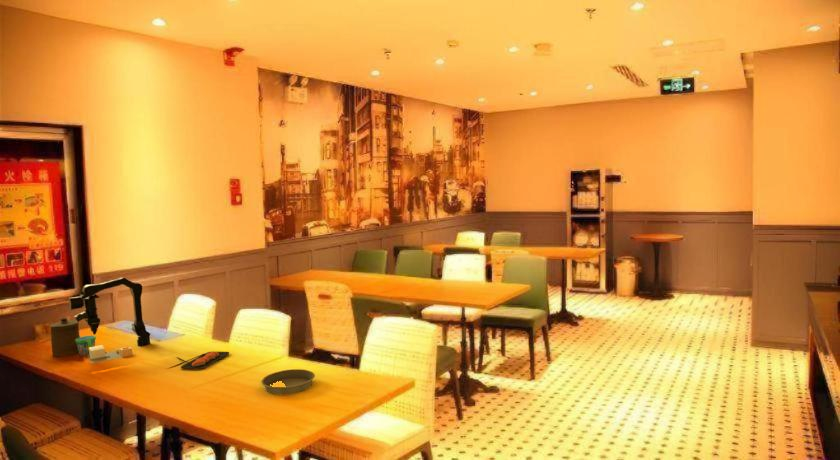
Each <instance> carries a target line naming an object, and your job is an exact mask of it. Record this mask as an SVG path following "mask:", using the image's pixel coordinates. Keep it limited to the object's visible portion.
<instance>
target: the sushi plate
mask: <svg viewBox="0 0 840 460" xmlns="http://www.w3.org/2000/svg"><path fill="white" fill-rule="evenodd" d="M229 354H230V352H229V351H207V352H205V353H204V352H203V353H202V354H199V355H197V356H195V357H193V358H190V359H187V360H184V359H182V358H181V357H176V358H177V359H178V360H180V361H182V362H179V363H177V364H176V365H173V366H171V367H168V368H167V370H168V369H173V368H174V367H178V366H180V368H181V370H183V369H184V370H203V369H206V368H208V367H209V366H211V365H213V364H215V363H216V362H218V361H220V360H222V359H223V358H225V357H226V356H229ZM182 364H183V365H182ZM181 365H182V366H181Z"/></svg>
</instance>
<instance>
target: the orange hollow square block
mask: <svg viewBox="0 0 840 460" xmlns="http://www.w3.org/2000/svg"><path fill="white" fill-rule="evenodd" d="M119 350H120V355H121V358H126V357H131V356H133V348H132V347H131V346H125V347H120V348H119ZM130 355H131V356H130ZM125 356H126V357H125Z"/></svg>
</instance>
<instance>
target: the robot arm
mask: <svg viewBox="0 0 840 460" xmlns="http://www.w3.org/2000/svg"><path fill="white" fill-rule="evenodd" d="M119 286H124V287H128V288H129V291H130V294H131V296H132V302H133V303H132V304H133V316H134V321H133V323H131V331H132V332H133V333H134V334H135V335H136V336H137V339H136V344H137V345H136V346H137V347H146V346H149V345H151V337H150V336H151V332H149V331H147V329H146V326H145V322H144V320H143V310H142V294H143V285H142V284H141V283H138V282H136V281H135V282H134V281H131V280H129V279H128V278H126V277H119V278H116V279H112V280H109V281H108V280H107V281H105V282H100V283H91V284H85V285H84V286H83V287H82V291H81V293H80V294H79V296H75V297H74V296H73V297H69V302H68V307H69V310H70V311H72V310H73V311H74V310H77V309H82V308H83V307H84V309H83V311H82V312H80V313H77V314H76V315H74V316H73V317H74V318H75V321H77V322H78V323H79V322H81V321H82V320H84V321H85V322H87V325H88V326H89V328H90V332H92V334H93V335H96V334H97V332H98V330H99V327H100V323H101V318H100V317H99V315H98V307H97V299H99V298H100V296H99V295H98V293H99V292H101V291H104V290H108V289H111V288H114V287H119Z"/></svg>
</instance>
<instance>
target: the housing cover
mask: <svg viewBox="0 0 840 460" xmlns="http://www.w3.org/2000/svg"><path fill="white" fill-rule="evenodd" d="M105 352H106V348H105V347H104V345H103V344H100V345H95V346H94V347H89V354H88V355H89V356H90V358H91V359H95V358H100V357H105V356H106V355H105Z"/></svg>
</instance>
